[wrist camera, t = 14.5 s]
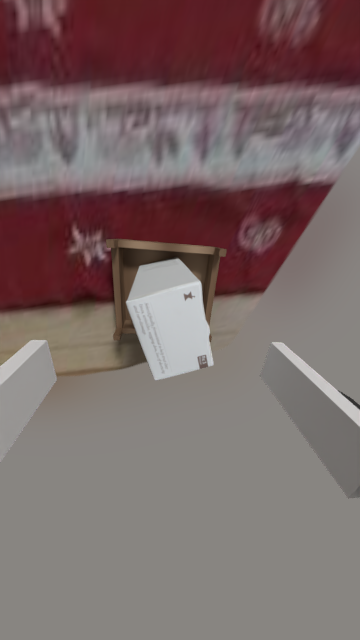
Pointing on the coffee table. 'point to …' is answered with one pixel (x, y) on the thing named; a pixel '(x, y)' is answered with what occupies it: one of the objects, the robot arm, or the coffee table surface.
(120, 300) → the box
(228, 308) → the coffee table surface
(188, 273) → the skincare box
